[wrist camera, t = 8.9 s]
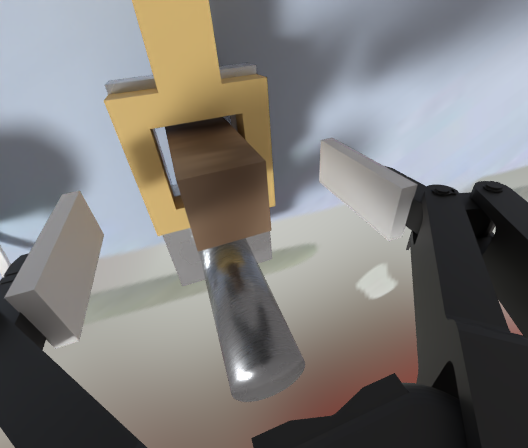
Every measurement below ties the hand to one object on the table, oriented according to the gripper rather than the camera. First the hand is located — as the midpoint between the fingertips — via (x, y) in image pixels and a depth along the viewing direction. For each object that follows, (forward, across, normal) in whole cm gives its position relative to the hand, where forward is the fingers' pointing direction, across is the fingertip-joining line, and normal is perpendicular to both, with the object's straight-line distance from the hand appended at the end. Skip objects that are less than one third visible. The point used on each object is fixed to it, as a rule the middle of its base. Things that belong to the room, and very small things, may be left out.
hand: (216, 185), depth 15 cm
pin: (+11, 0, 0) cm, 11 cm away
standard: (+11, 0, -4) cm, 12 cm away
